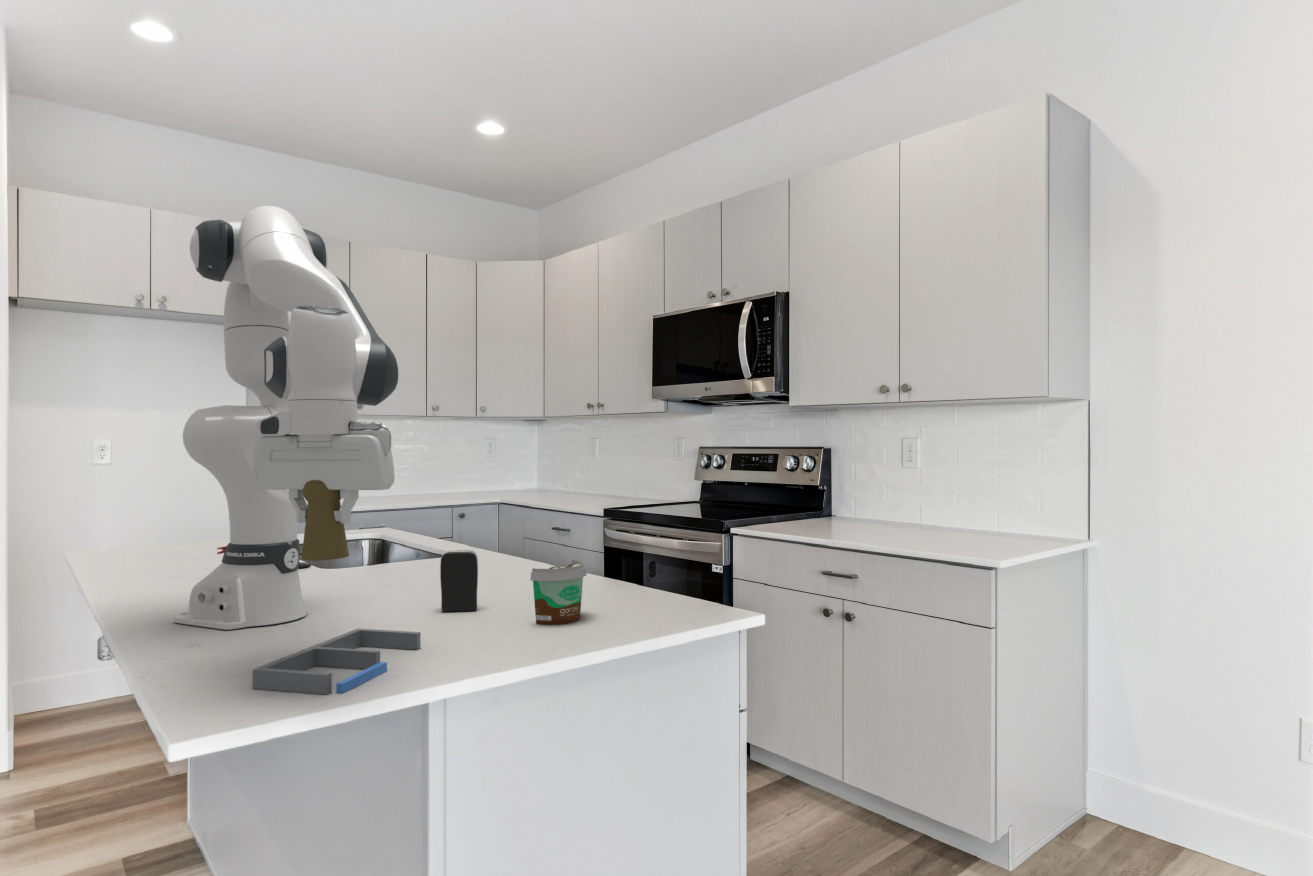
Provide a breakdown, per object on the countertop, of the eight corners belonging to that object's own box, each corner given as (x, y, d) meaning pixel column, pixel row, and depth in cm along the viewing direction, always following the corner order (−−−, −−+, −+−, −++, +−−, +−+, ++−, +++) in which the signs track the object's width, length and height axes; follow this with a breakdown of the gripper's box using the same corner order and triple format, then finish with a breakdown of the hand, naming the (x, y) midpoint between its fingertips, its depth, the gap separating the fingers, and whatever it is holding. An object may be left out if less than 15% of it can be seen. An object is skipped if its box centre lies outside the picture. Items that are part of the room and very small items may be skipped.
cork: (332, 560, 106) (329, 478, 106) (291, 560, 107) (289, 479, 107) (357, 554, 111) (355, 476, 112) (319, 554, 113) (317, 477, 113)
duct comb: (252, 688, 105) (252, 669, 105) (357, 644, 127) (357, 628, 127) (338, 695, 102) (338, 676, 102) (430, 648, 124) (430, 632, 124)
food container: (558, 630, 136) (557, 571, 136) (530, 625, 139) (530, 568, 139) (600, 616, 146) (600, 561, 146) (574, 612, 149) (573, 559, 149)
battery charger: (479, 607, 154) (479, 548, 154) (477, 611, 150) (477, 551, 150) (442, 608, 153) (442, 549, 153) (440, 613, 149) (439, 552, 149)
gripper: (403, 422, 110) (404, 521, 110) (276, 423, 115) (276, 519, 115) (377, 421, 104) (377, 526, 104) (243, 423, 108) (244, 524, 108)
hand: (323, 523), depth 109 cm, fingers closed on cork, 4 cm apart
